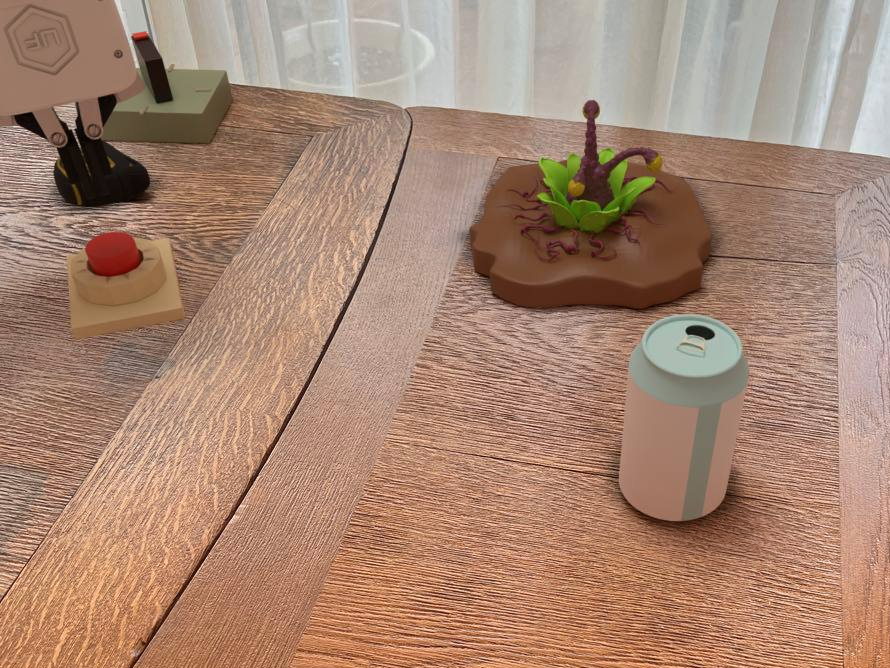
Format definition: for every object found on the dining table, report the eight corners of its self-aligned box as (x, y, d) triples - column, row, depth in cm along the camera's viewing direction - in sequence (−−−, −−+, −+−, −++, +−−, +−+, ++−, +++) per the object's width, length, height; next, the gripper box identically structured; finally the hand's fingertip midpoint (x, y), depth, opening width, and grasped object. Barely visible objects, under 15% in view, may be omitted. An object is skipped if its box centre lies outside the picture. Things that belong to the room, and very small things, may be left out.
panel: (93, 143, 98) (82, 111, 96) (127, 94, 105) (118, 62, 102) (208, 147, 98) (199, 114, 95) (234, 97, 104) (227, 65, 102)
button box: (75, 278, 83) (58, 235, 80) (175, 260, 85) (162, 217, 82) (81, 352, 77) (62, 308, 74) (189, 331, 79) (176, 287, 76)
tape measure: (159, 198, 92) (147, 159, 89) (89, 228, 88) (74, 188, 86) (118, 170, 95) (106, 131, 92) (49, 198, 91) (34, 159, 89)
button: (91, 256, 79) (83, 236, 78) (139, 247, 80) (132, 228, 79) (93, 282, 77) (86, 262, 76) (143, 273, 78) (136, 253, 76)
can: (606, 460, 70) (616, 314, 61) (704, 444, 71) (729, 299, 62) (635, 536, 65) (651, 391, 56) (740, 518, 66) (772, 372, 57)
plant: (699, 183, 94) (715, 58, 85) (717, 313, 81) (738, 181, 72) (480, 179, 94) (474, 54, 86) (462, 307, 81) (454, 176, 73)
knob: (173, 100, 97) (161, 54, 94) (156, 103, 97) (143, 58, 94) (159, 74, 101) (147, 29, 98) (142, 77, 100) (129, 33, 97)
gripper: (-147, -59, 55) (-7, 241, 69) (132, -104, 60) (211, 186, 74) (-154, -100, 60) (-22, 190, 74) (106, -139, 64) (185, 141, 78)
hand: (94, 187), depth 74 cm, fingers closed
